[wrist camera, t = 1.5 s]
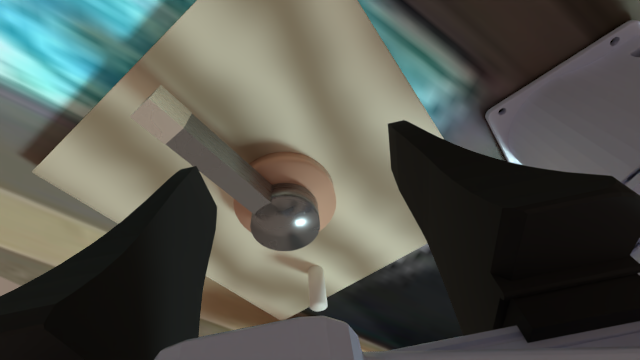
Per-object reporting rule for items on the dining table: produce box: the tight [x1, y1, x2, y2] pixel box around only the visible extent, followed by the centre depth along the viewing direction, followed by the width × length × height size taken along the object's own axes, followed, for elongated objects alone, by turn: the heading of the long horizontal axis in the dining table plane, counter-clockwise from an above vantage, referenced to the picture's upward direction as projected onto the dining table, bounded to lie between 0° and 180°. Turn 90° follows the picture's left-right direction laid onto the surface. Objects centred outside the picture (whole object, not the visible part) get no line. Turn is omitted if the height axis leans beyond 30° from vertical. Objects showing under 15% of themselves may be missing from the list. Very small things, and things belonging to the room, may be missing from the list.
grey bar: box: [130, 85, 320, 251], centre depth 20 cm, size 13×4×2 cm, turn 37°
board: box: [32, 0, 443, 321], centre depth 24 cm, size 22×24×1 cm
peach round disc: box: [233, 152, 336, 232], centre depth 23 cm, size 7×7×1 cm
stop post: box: [308, 265, 327, 311], centre depth 28 cm, size 1×1×4 cm
